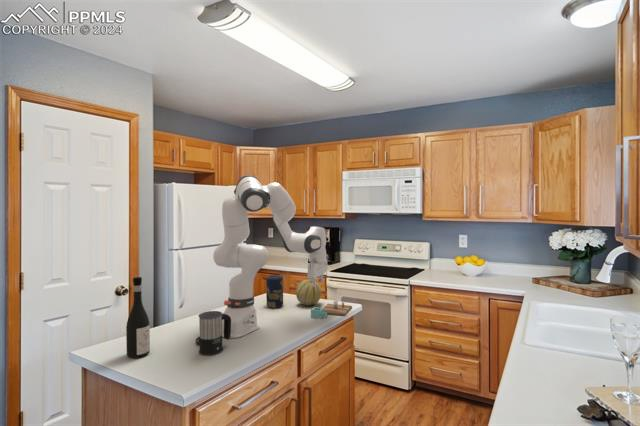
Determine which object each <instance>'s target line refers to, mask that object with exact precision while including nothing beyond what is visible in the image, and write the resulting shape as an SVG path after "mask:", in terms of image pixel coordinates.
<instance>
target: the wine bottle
mask: <svg viewBox="0 0 640 426" xmlns="http://www.w3.org/2000/svg"><path fill="white" fill-rule="evenodd" d="M142 280H143V278H142V277H141V276H137V277H133V278H132V282H133V304H132V307H131V310H130V313H129V316H128V318H127V322H126V327H125V328H126V329H125V331H126V333H125V334H126V335H125V337H126V339H125V340H126V355H127V357H128V358H131V359H139V358H143V357H145V356H147V355H149V353H150V351H151V341H150V339H151V337H150V336H151V335H150V334H151V333H150V331H151V330H150V329H151V328H150V327H151V326H150V319H149V316H148V314H147V312H146V310H145V307H144V305H143V299H142V298H143V297H142Z"/></svg>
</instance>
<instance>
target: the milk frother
mask: <svg viewBox="0 0 640 426" xmlns="http://www.w3.org/2000/svg"><path fill="white" fill-rule="evenodd" d="M198 319H199V321H198V323H199V328H198V329H199V336H198V337H196V339H195V341H194V342H195V344H196V346H199V350H198V353H199V354H200V355H202V356H215V355H218V354H220V353H222V352H223V350H224V347H223V338H224V339H225V340H230V339H231V338H230V335H231V318H230V316H229V315H227V314H223V312H222V311H218V310H211V311H204V312H201V313H199V314H198ZM223 319H224V337H222V320H223Z"/></svg>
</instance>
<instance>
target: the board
mask: <svg viewBox="0 0 640 426" xmlns="http://www.w3.org/2000/svg"><path fill="white" fill-rule="evenodd" d="M322 308H324V312H327V316H328V315H329V316H336V317H337V316H338V317H339V316H340V317H346V315H347V314H348V313H349V312H350V311H351V310H352V309H353V305H348V304H347V305H346V304H345V301H341V304H339V302H338V301H337V300H334V301H333V303H327V304H326V305H325V306H323V307H322Z"/></svg>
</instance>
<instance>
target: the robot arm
mask: <svg viewBox="0 0 640 426" xmlns="http://www.w3.org/2000/svg"><path fill="white" fill-rule="evenodd" d="M287 191H288V190H287V189H285V187H283V186H282V185H281V184H280V183H279V182H270V183H268V184H267V185H262V183H261V182H260V180H259V179H258V178H257V177H256V176H255V175H253V174H245V175H243V176H241V177H240V178H239V180H238V181H237V184H236V186H235V189H234V190H233V194H234V195H233V196H230V197H228V198H226V199H224V201H223V202H222V208H221V216H222V223H223V232H224V233H223V234H224V237H223V241H222V242H221V243H220V245H218V246H217V247H216V248H215V249H214V251H213V255H212V256H213V257H212V259H213V261H214V263H215V265H216V266H218V267H221V268H222V267H223V268H227V269H228V268H229V269H231V268H232V269H233V268H235V269H236V268H237V269H239V268H240V269H241V272H240V273H238V274H236V275H235V276H233V277H231V279H230V280H229V282H228V289H229V290H228V292H229V293H228V295H229V296H228V299H227V300H224V301H223V305H224V306H226V308H225V309H224V311H223V312H222V314H227V315H229V316H230V318H231V335H230V339H235V338H237V339H238V338H241V337H243V336H245V335H247V334H249V333H252V332H254V331H257V330H258V329H260V328H261V327H260V325H259V324H258V315H257V309H256V307H255V305H254V304H255V296H254V283H255V278H256V276H257V273H259V270H261V269H262V268H263V267H265V265H266V264H267V263H268V260H269V252H268V249H267V248H266V247H265V245H264V246H263V245H258V244H253V243H251V244H245V243H244V244H242V242H244V241H246V240H247V239H248V238H249V235H250V233H251V230H250V223H249V216H248V215H249V214H248V212H252V213H255V212H259V211H260V210H261V211H262V210H263V209H265V208H267V207H268V209H269V211H270V212H271V214H272V221H273V224H274V226H275V228H276V230H277V232H278V234H279V235H280V237H281V240H282V244H283V246H284V249H285V250H286V251H287V252H288V253H300V254H308V262H309V263H308V265H307V280H308V279H311V281H312V286H313V287H315V286H316V284H317V283H318V284H319V283H321V284H322V283H323V281H324V280H323V279H324V274H326V273H327V271H328V259H329V254H327V249H326V245H327V233H326V229H325V227H322V226H318V225H317V226H316V225H312V226H310V228H309V229H308V231H306V232H305V233H301V232H300V233H298V232H295V231H293V230H292V229H291V226H290V224H289V222H290V221H291V220H292V218H294V216H295V215H296V213H297V207H296V204H295V202H294V200H293V199H292V197H291V195H290V194H289V193H288V192H287ZM317 278H318V282H317V281H316V280H317ZM316 282H317V283H316ZM222 338H224V319H223V320H222Z"/></svg>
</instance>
